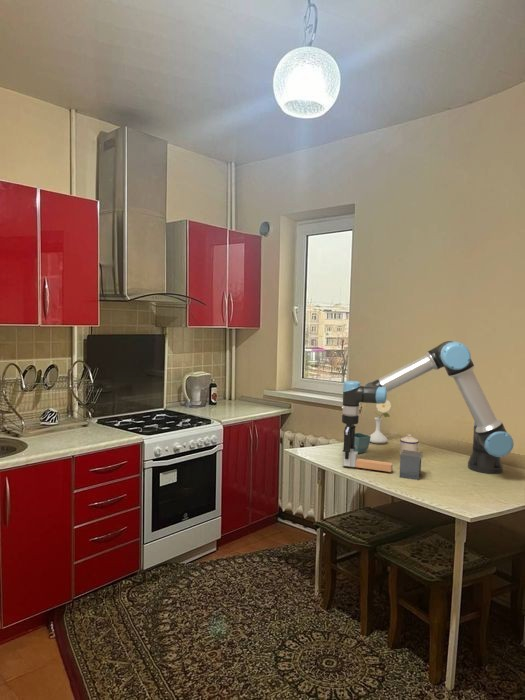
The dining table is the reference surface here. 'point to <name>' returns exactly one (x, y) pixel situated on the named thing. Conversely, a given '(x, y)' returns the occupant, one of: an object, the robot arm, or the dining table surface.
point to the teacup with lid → (408, 444)
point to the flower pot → (361, 442)
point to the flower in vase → (377, 435)
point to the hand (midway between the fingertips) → (348, 464)
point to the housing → (410, 464)
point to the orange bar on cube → (367, 463)
